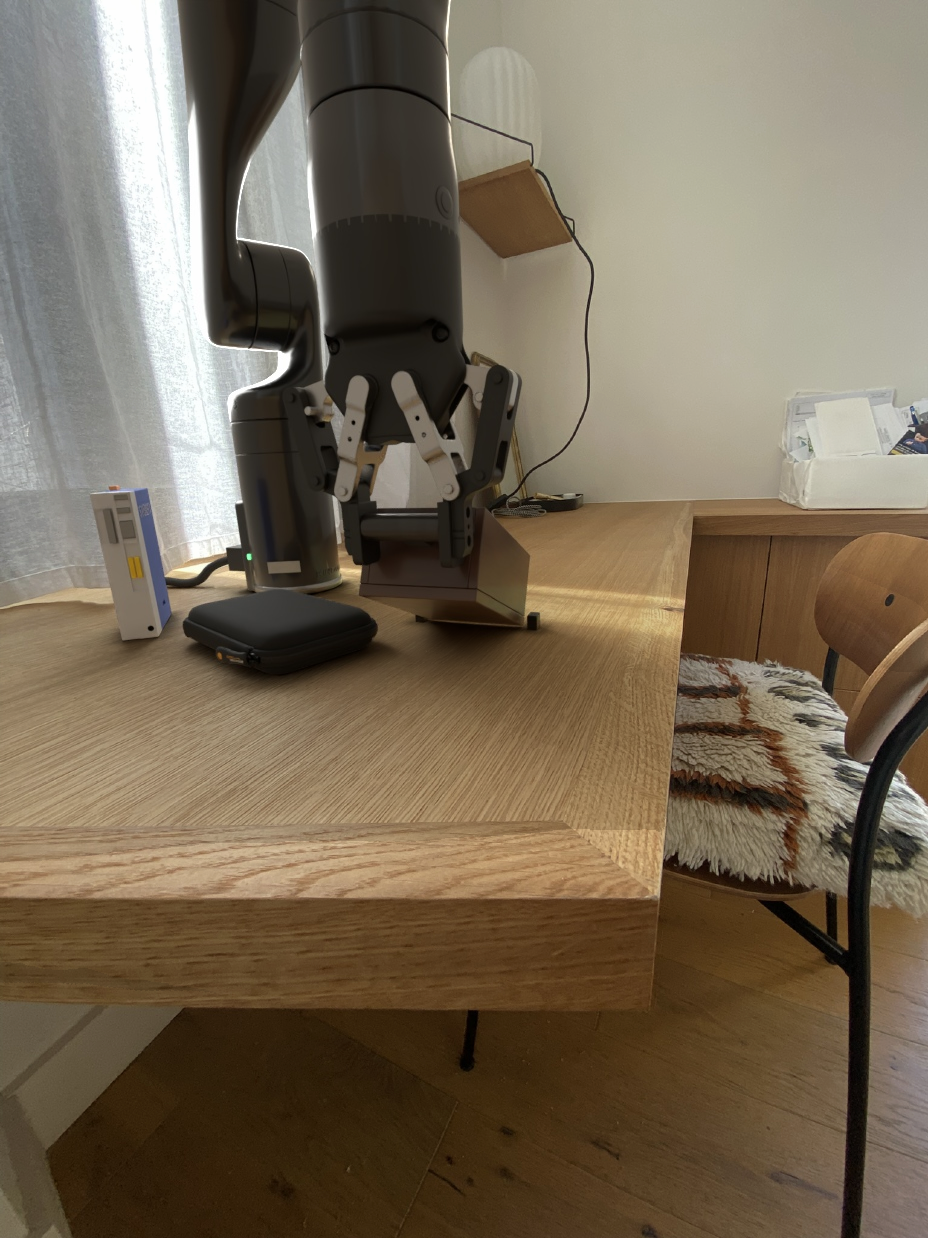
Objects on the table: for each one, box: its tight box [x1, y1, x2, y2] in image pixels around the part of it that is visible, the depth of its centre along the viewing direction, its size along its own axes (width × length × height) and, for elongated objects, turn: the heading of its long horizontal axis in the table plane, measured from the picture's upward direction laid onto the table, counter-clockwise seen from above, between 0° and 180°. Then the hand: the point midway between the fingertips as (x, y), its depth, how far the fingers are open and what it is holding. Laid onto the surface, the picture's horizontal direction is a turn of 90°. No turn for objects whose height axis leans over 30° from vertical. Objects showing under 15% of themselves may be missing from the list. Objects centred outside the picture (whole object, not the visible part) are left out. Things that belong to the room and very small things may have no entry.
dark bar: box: [414, 611, 541, 631], centre depth 45 cm, size 10×1×1 cm, turn 70°
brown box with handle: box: [358, 506, 531, 627], centre depth 39 cm, size 15×8×6 cm, turn 158°
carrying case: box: [182, 589, 379, 675], centre depth 41 cm, size 11×3×15 cm
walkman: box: [89, 485, 173, 641], centre depth 47 cm, size 8×3×12 cm, turn 20°
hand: (408, 563), depth 33 cm, fingers closed on brown box with handle, 5 cm apart
